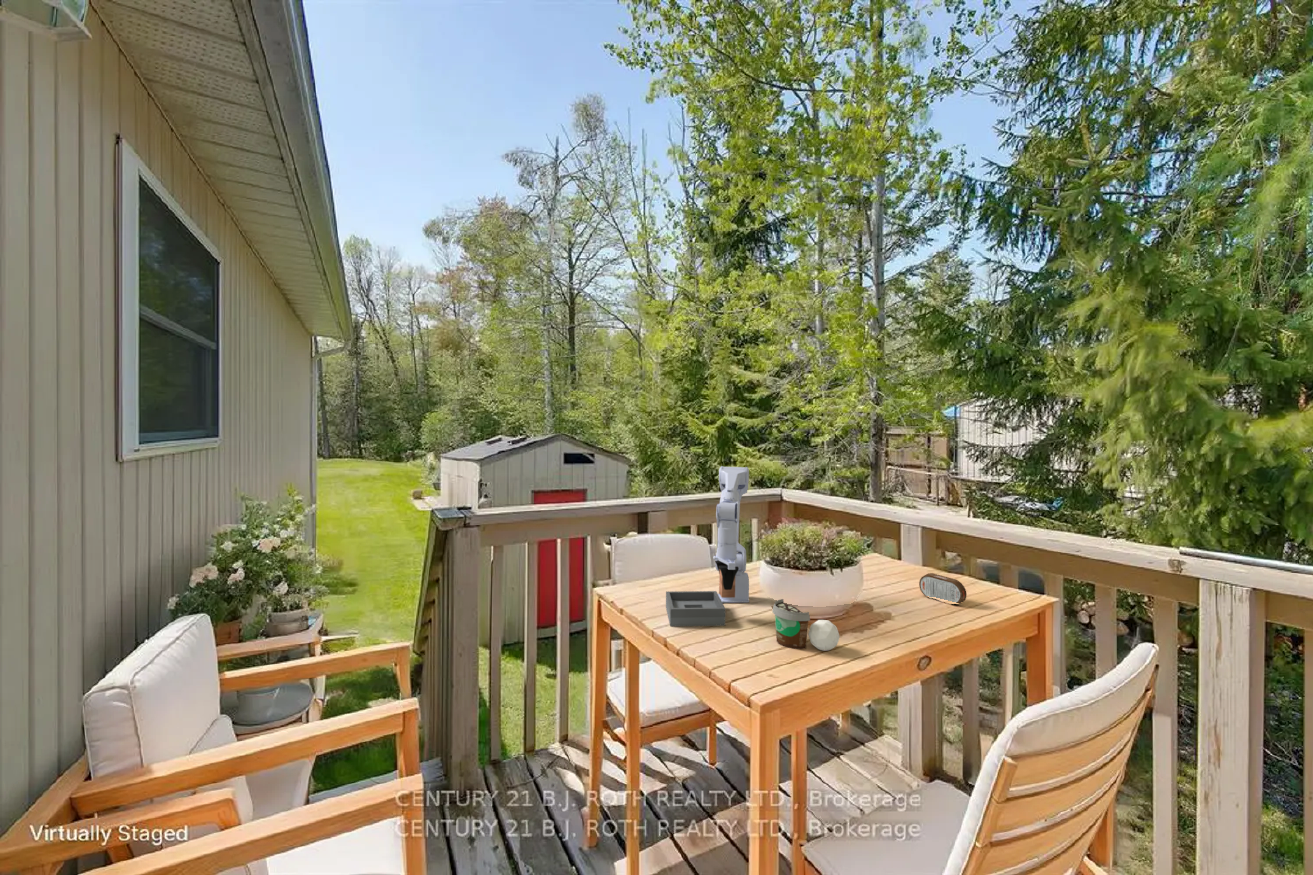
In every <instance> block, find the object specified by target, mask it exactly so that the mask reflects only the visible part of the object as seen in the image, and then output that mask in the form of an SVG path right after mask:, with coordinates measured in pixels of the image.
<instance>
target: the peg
mask: <svg viewBox="0 0 1313 875" xmlns="http://www.w3.org/2000/svg"><path fill="white" fill-rule="evenodd" d="M718 578H719V580H718V582H719V584H718V594H720V596H721V597H722V598H731V597H735V578H734V582H733V586H732V589H731V590H725V589H724V586H723V578H722V573H721V570H720V575H719V577H718Z"/></svg>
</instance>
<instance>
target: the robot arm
mask: <svg viewBox="0 0 1313 875" xmlns="http://www.w3.org/2000/svg"><path fill="white" fill-rule="evenodd" d="M749 478H750V470H749V467H748V466H745V467H743V466H724V465H721V466H720V467H719V469H718V483H719V488H720V492H721V494H720V499H719V503H717V504H716V511H715V518H716V526H717V545H716V546H717V548H716V554H715V555H713V557H712V558H713V560H714V561H715V569H716V571H718V574H719V576H720V570H721V573H722V578H723V586H724V589H725V590H731V589H732V586H733V582H734V578H735V597H731V598H722V597H721V596H720V594H719V593H717V594H718V595H719V597H720V599H721V601H722V603H723V604H727V603H728V604H729V603H749V602H750V599H749V598H750V578H749V574H748V572H747V571H746V570H747V550H746V548H745V547H744V546H743V545H742V544H741V543H739V538H740V537H739V535H740V533H739V532H740V514H741V513H740V509H741V500H742V498H743V495H745V494H747V493H748V490H749V482H750V481H749V480H750V479H749Z"/></svg>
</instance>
